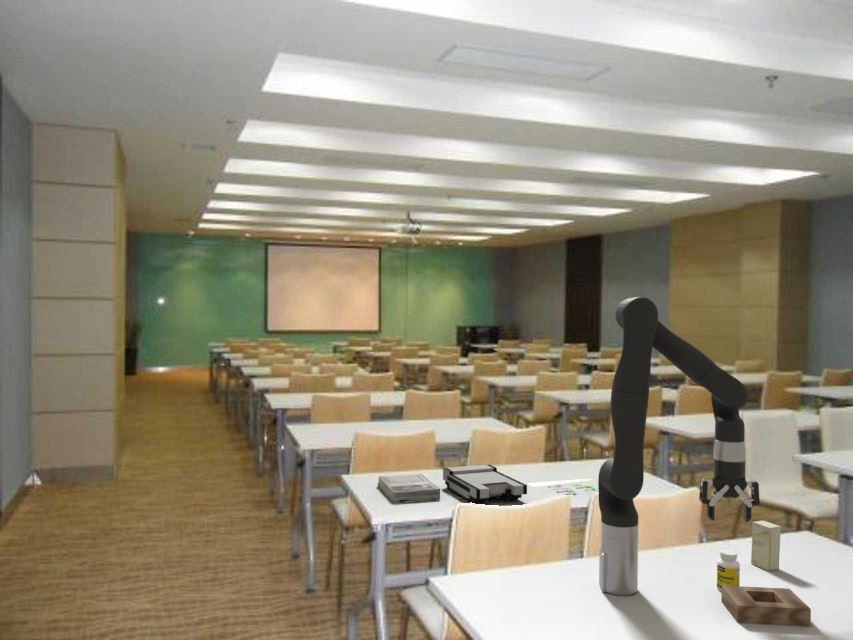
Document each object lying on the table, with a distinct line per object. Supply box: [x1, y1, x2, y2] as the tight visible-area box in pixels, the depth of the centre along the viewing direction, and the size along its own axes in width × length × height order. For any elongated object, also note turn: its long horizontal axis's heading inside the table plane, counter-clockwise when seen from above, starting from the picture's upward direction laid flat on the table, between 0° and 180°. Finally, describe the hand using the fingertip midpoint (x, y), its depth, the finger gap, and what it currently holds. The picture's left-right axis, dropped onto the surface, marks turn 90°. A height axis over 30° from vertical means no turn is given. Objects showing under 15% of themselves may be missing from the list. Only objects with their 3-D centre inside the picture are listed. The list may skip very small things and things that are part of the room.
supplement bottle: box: [716, 549, 741, 592], centre depth 183 cm, size 5×5×10 cm
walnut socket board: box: [720, 585, 812, 627], centre depth 169 cm, size 16×12×4 cm
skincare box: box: [750, 520, 782, 572], centre depth 201 cm, size 6×4×12 cm
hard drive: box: [377, 473, 441, 503], centre depth 280 cm, size 18×27×4 cm
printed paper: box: [526, 478, 598, 495], centre depth 286 cm, size 30×30×2 cm
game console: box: [442, 464, 528, 505], centre depth 277 cm, size 21×32×8 cm, turn 21°
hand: (729, 520), depth 183 cm, fingers open, 8 cm apart
